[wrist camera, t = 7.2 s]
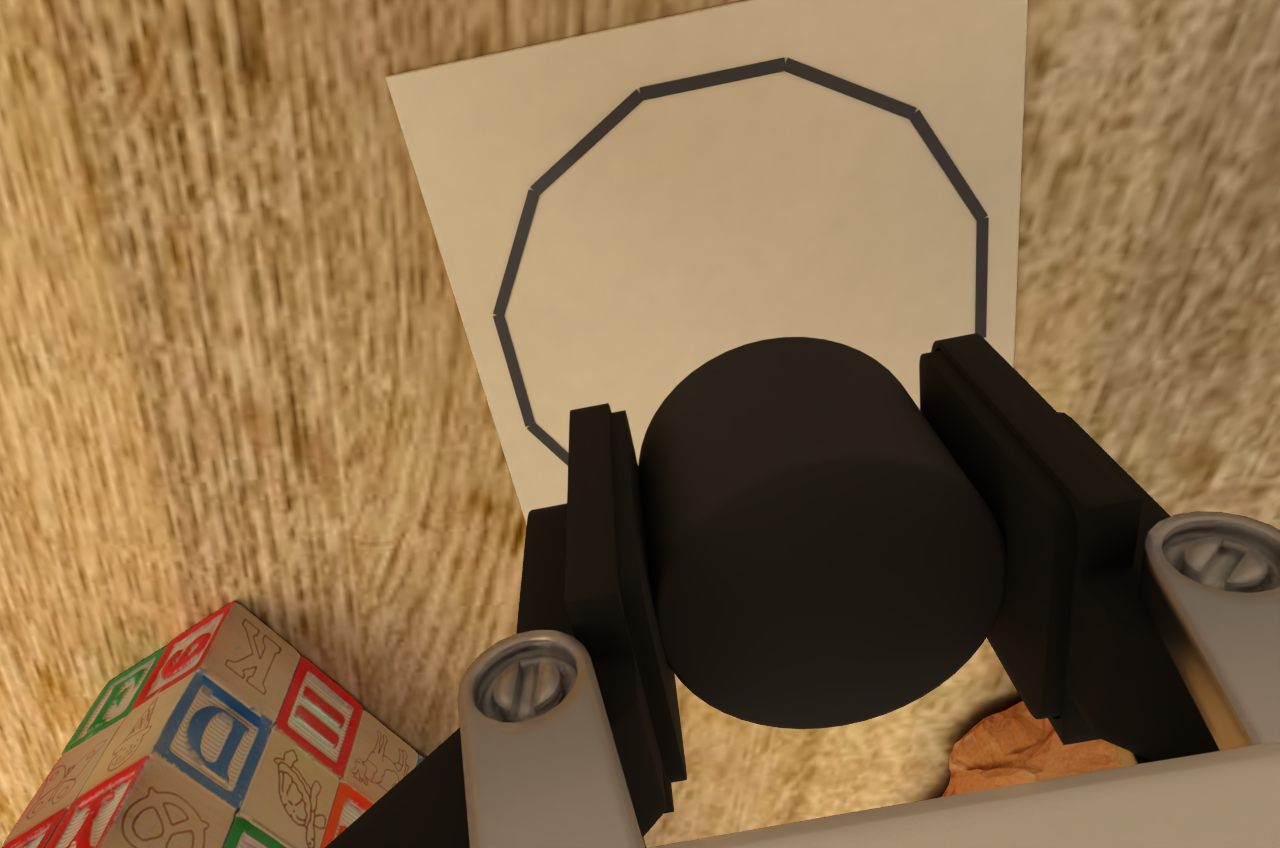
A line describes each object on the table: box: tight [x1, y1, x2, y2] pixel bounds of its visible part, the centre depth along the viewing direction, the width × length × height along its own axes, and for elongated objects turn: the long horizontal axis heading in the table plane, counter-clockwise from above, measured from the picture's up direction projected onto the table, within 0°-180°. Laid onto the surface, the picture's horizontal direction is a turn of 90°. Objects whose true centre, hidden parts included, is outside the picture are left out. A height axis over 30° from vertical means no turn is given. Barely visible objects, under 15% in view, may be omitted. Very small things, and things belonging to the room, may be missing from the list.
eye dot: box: [638, 337, 1007, 729], centre depth 11 cm, size 4×4×3 cm
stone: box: [942, 701, 1120, 797], centre depth 32 cm, size 15×15×10 cm
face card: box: [386, 0, 1028, 525], centre depth 24 cm, size 16×15×1 cm
